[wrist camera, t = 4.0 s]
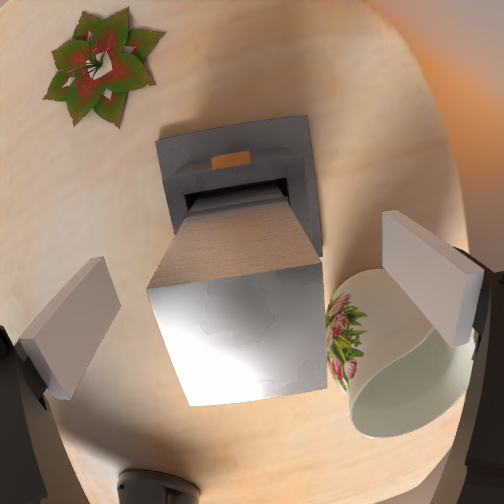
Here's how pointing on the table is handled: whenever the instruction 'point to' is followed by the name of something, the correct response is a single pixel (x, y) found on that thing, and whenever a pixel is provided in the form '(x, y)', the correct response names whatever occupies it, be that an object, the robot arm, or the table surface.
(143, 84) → the lily flower
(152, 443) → the table surface
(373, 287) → the pitcher
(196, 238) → the column
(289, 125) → the stand
